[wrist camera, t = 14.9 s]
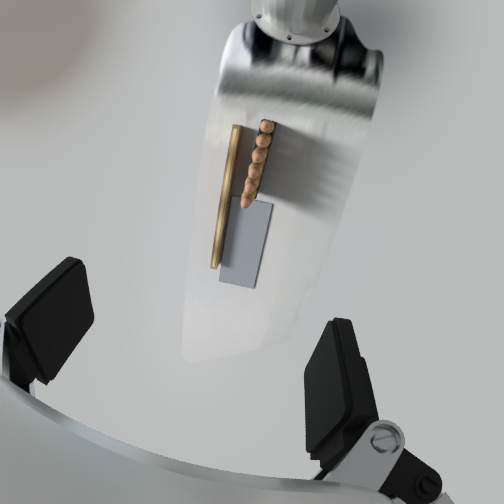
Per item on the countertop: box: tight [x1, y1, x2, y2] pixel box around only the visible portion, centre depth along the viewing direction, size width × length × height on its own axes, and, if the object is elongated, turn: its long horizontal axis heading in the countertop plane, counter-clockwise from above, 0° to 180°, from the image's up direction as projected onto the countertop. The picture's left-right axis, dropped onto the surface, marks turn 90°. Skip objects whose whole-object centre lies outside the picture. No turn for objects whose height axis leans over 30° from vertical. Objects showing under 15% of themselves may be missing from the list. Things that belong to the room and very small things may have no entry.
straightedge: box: [210, 125, 242, 269], centre depth 40 cm, size 22×1×3 cm, turn 169°
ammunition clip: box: [241, 119, 277, 209], centre depth 33 cm, size 11×2×12 cm, turn 166°
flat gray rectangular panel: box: [219, 196, 272, 288], centre depth 44 cm, size 15×6×1 cm, turn 169°
